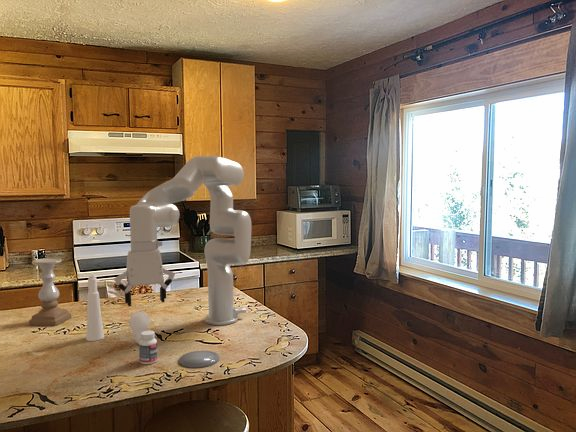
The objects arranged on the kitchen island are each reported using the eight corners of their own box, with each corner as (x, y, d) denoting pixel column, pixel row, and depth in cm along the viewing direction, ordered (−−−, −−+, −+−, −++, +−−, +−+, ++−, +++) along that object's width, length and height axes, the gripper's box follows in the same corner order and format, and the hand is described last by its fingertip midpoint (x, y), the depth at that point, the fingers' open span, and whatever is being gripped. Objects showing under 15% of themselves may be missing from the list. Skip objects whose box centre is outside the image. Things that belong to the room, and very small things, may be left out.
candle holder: (71, 317, 191) (68, 257, 188) (55, 326, 180) (52, 263, 177) (45, 316, 192) (42, 257, 189) (28, 325, 181) (24, 262, 178)
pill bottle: (152, 365, 143) (151, 336, 142) (136, 364, 144) (135, 335, 143) (160, 358, 148) (159, 330, 147) (145, 357, 149) (143, 329, 148)
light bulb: (139, 349, 156) (137, 316, 155) (125, 345, 160) (124, 312, 158) (154, 342, 162) (153, 310, 161) (141, 339, 165) (139, 307, 164)
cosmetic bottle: (81, 340, 165) (78, 276, 163) (94, 334, 170) (91, 273, 168) (96, 342, 163) (92, 278, 161) (108, 336, 168) (105, 274, 166)
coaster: (212, 349, 155) (212, 347, 155) (224, 363, 144) (224, 361, 144) (175, 356, 150) (175, 354, 150) (184, 370, 139) (184, 368, 139)
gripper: (170, 242, 150) (172, 296, 151) (111, 246, 142) (114, 303, 144) (176, 246, 143) (177, 302, 145) (114, 250, 136) (117, 310, 137)
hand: (146, 303), depth 144 cm, fingers open, 9 cm apart
